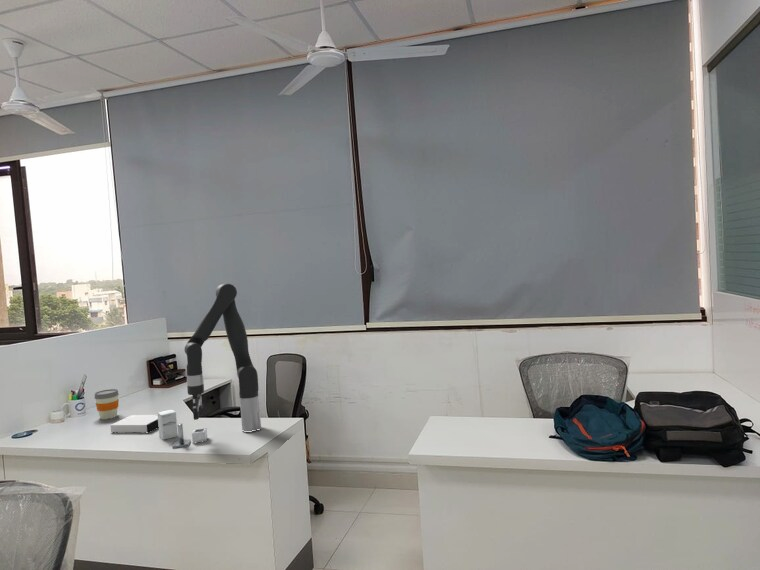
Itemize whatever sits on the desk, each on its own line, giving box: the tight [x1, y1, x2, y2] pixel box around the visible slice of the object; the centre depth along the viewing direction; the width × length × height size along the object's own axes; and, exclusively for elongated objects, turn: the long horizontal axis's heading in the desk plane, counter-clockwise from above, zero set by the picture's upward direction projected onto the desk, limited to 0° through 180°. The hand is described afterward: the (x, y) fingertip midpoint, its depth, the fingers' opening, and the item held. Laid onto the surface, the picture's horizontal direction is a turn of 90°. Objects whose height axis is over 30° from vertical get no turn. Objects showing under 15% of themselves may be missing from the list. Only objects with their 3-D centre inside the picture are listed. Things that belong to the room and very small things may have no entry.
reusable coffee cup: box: [94, 388, 120, 420], centre depth 307 cm, size 12×13×15 cm
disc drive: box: [110, 414, 159, 434], centre depth 282 cm, size 18×22×5 cm
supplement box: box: [156, 409, 178, 441], centre depth 263 cm, size 7×7×13 cm
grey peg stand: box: [171, 423, 192, 449], centre depth 249 cm, size 7×7×10 cm
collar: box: [191, 427, 208, 444], centre depth 253 cm, size 6×6×5 cm
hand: (197, 416), depth 253 cm, fingers open, 8 cm apart
